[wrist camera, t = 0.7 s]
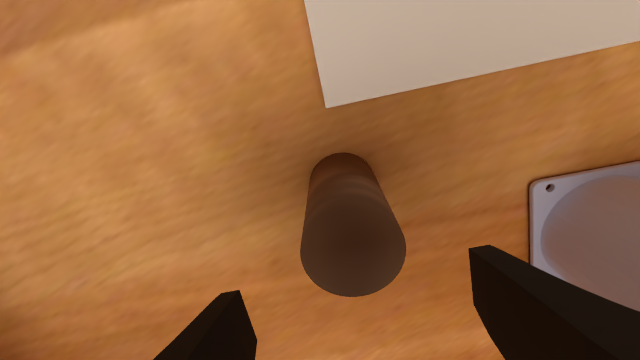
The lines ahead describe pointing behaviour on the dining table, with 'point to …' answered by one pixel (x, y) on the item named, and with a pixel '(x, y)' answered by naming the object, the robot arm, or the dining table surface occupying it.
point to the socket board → (452, 39)
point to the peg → (349, 229)
